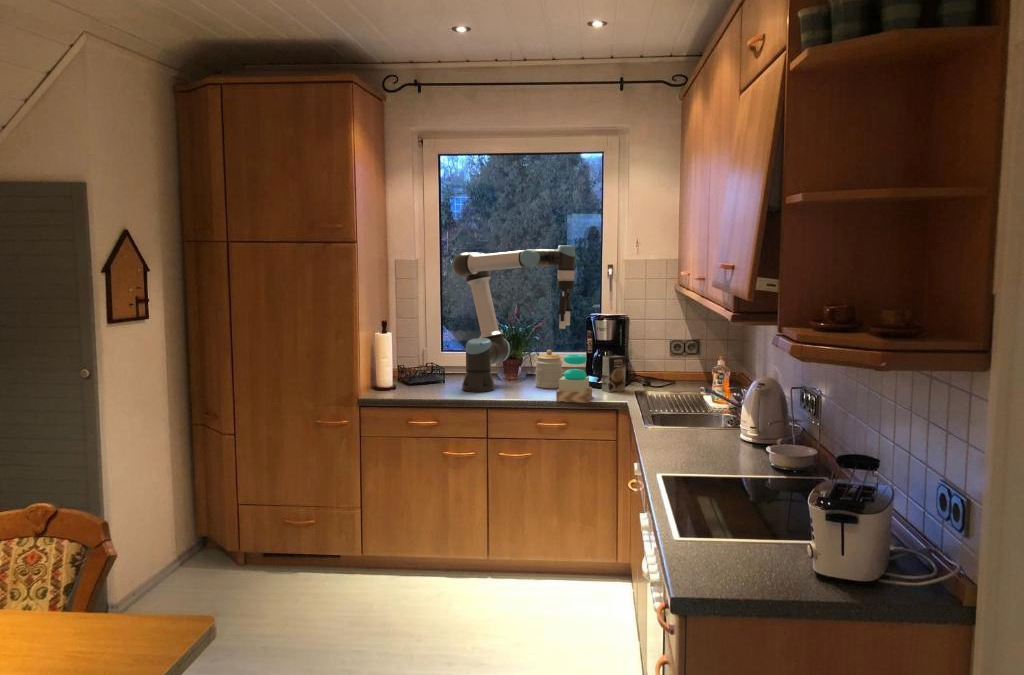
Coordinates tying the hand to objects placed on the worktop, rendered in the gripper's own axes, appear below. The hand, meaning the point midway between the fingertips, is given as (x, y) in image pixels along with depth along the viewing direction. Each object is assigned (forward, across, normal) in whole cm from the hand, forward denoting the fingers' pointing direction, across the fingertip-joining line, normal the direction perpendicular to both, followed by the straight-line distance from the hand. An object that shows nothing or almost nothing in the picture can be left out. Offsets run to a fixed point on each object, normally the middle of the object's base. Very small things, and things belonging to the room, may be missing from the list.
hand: (564, 327), depth 349 cm
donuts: (+21, -14, -7) cm, 26 cm away
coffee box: (+30, +11, -22) cm, 39 cm away
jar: (+31, +15, +9) cm, 35 cm away
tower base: (+31, -13, -7) cm, 34 cm away
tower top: (+26, -13, -7) cm, 30 cm away
